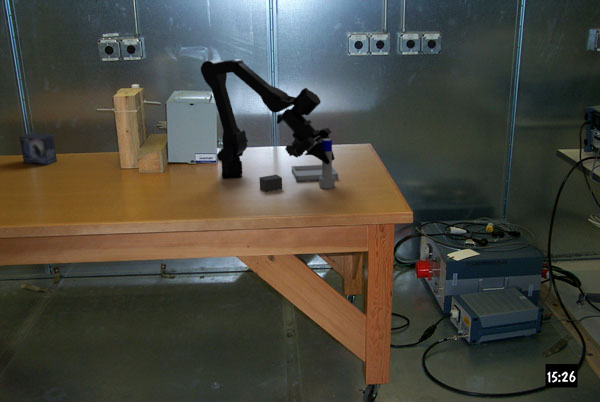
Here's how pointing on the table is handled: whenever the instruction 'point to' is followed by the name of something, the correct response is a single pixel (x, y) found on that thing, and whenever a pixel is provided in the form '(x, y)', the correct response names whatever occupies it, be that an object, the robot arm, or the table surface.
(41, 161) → the small box
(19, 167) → the table surface
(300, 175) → the tray
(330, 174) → the bolt
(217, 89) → the robot arm
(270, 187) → the block
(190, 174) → the table surface
